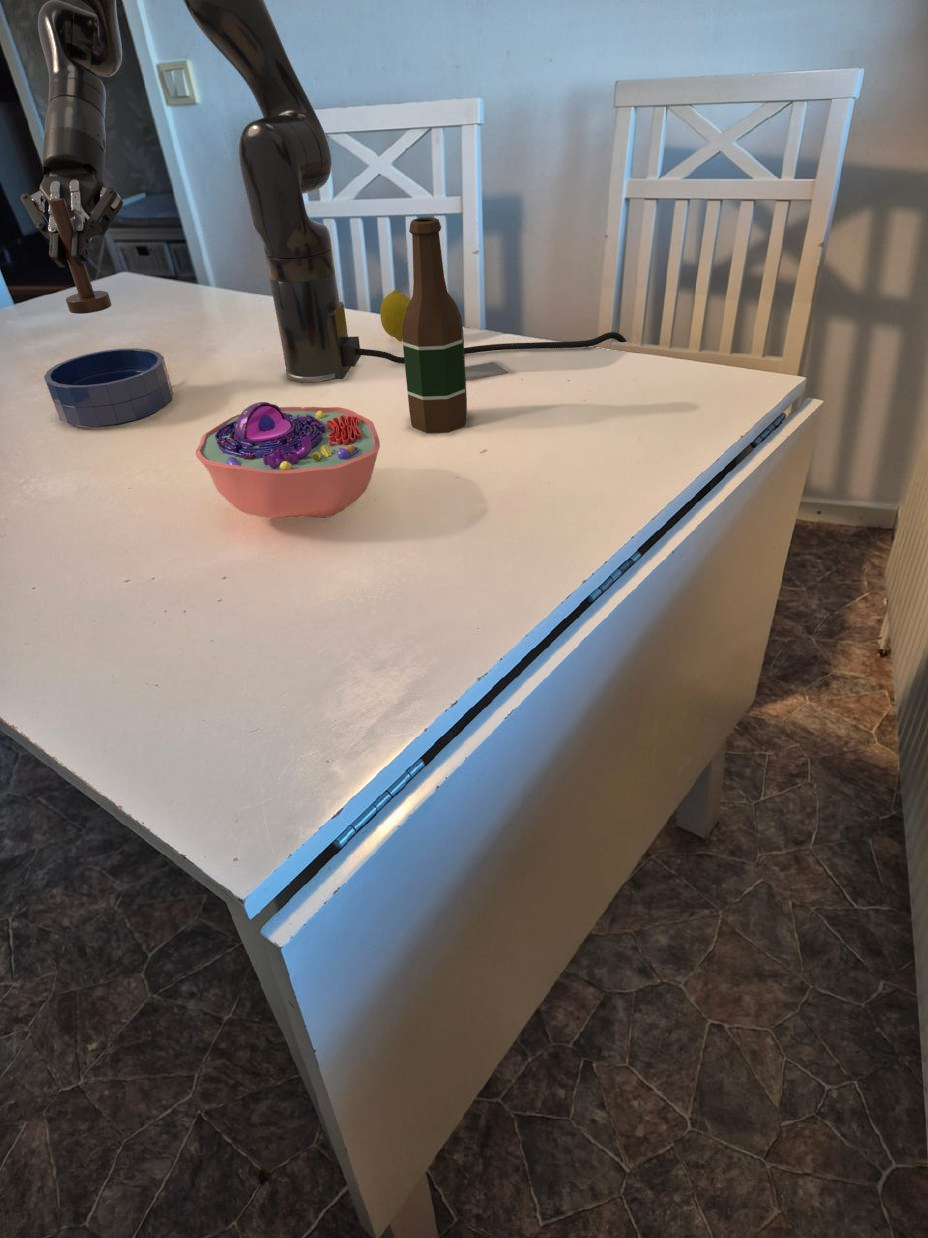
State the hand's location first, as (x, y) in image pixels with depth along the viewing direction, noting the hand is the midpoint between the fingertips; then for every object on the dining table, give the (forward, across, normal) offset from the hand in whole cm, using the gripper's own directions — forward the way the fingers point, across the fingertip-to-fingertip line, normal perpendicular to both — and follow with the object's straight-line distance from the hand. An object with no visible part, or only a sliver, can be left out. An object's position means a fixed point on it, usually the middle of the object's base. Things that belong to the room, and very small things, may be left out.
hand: (68, 262), depth 107 cm
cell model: (+39, +35, -12) cm, 53 cm away
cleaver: (+11, +51, +16) cm, 55 cm away
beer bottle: (+23, +48, +4) cm, 54 cm away
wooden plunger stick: (+3, 0, +6) cm, 7 cm away
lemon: (-1, +40, +28) cm, 49 cm away
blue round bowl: (+16, +2, +11) cm, 19 cm away
